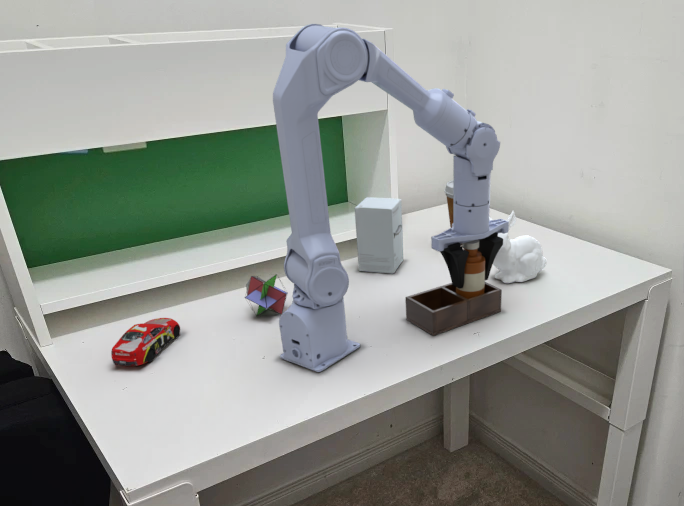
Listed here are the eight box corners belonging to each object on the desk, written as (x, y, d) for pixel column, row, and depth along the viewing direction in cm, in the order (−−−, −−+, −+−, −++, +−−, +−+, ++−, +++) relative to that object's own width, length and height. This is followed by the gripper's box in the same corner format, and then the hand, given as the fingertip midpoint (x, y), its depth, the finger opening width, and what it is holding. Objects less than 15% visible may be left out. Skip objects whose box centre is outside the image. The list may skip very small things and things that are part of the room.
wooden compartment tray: (433, 336, 104) (432, 312, 102) (406, 319, 109) (405, 297, 107) (501, 311, 112) (501, 289, 110) (472, 297, 117) (473, 275, 115)
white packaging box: (394, 274, 126) (391, 209, 119) (357, 271, 127) (352, 207, 121) (404, 260, 132) (402, 198, 126) (369, 257, 133) (365, 195, 127)
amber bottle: (474, 307, 109) (475, 248, 103) (450, 300, 111) (450, 242, 106) (489, 297, 112) (491, 239, 107) (465, 290, 114) (466, 234, 109)
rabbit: (497, 288, 120) (499, 224, 114) (474, 270, 128) (476, 209, 121) (554, 277, 125) (559, 215, 118) (529, 261, 132) (533, 201, 126)
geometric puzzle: (305, 296, 112) (275, 258, 110) (285, 313, 106) (252, 272, 104) (279, 315, 116) (249, 278, 114) (258, 332, 110) (226, 293, 108)
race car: (156, 328, 107) (150, 305, 105) (187, 330, 106) (182, 308, 104) (106, 368, 96) (99, 344, 94) (141, 371, 95) (134, 347, 93)
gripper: (489, 188, 109) (487, 265, 116) (418, 203, 102) (421, 285, 109) (519, 197, 105) (514, 277, 112) (446, 215, 97) (447, 299, 104)
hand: (470, 282), depth 110 cm, fingers closed on amber bottle, 5 cm apart
